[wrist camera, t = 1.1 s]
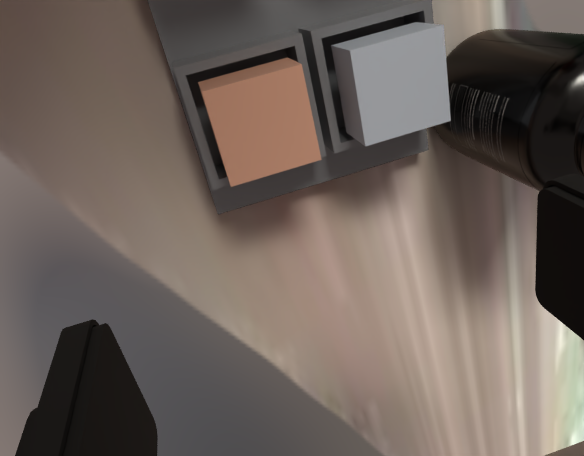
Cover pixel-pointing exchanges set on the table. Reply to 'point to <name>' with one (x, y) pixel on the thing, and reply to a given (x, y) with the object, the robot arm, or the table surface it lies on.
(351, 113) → the slate key
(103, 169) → the table surface
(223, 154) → the terracotta key
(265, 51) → the keypad
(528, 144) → the supplement bottle
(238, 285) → the table surface
